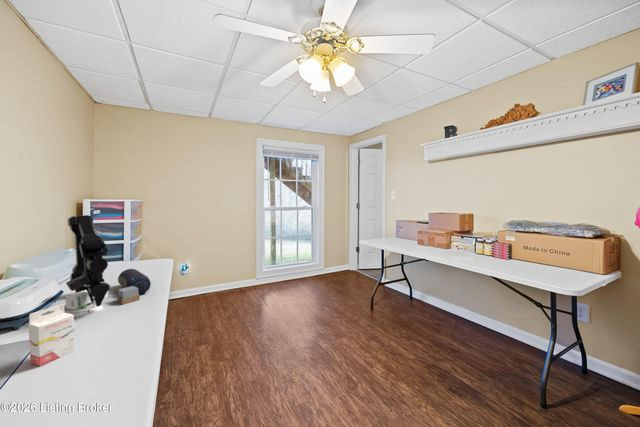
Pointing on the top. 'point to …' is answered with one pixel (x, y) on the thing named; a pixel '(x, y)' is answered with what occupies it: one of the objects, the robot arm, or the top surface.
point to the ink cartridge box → (50, 335)
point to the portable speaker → (134, 280)
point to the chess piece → (95, 307)
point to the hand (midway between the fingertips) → (95, 303)
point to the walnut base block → (128, 299)
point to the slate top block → (127, 292)
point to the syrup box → (79, 300)
